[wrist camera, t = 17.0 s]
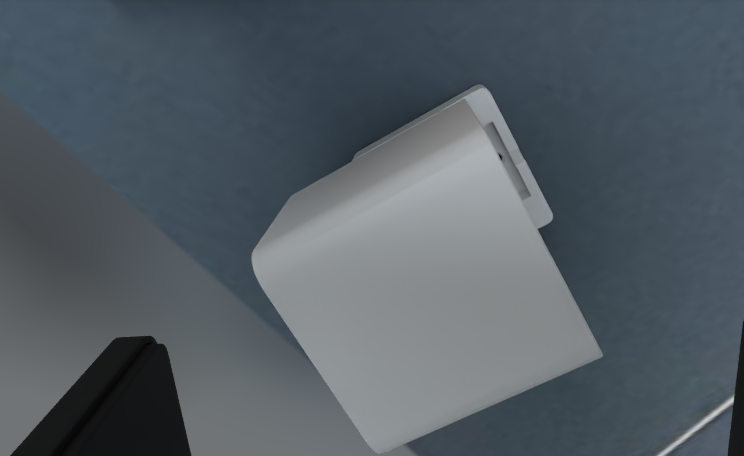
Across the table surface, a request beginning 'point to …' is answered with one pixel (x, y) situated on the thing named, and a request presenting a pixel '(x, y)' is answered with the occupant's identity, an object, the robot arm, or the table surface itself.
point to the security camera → (425, 276)
